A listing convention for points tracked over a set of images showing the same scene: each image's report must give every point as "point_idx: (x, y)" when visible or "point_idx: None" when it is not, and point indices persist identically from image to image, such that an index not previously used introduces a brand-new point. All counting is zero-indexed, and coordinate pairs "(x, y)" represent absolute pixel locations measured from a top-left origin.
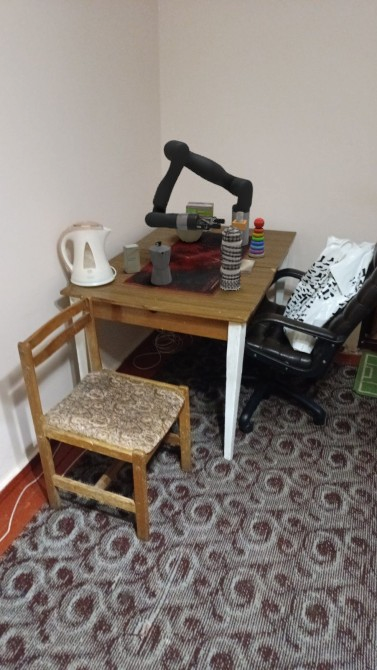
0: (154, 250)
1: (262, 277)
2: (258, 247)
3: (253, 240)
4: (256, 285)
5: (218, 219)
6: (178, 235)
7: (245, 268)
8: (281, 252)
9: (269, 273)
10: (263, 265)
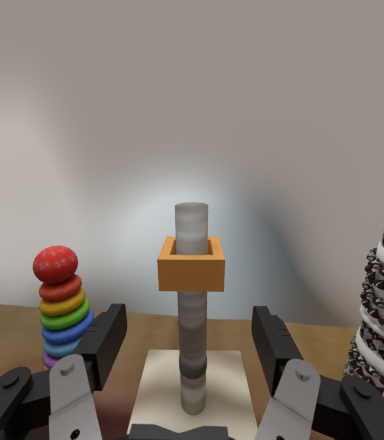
0: None
1: (248, 330)
2: None
3: (72, 325)
4: (305, 336)
5: (104, 343)
6: None
7: (226, 367)
8: None
9: (216, 320)
10: (164, 335)
